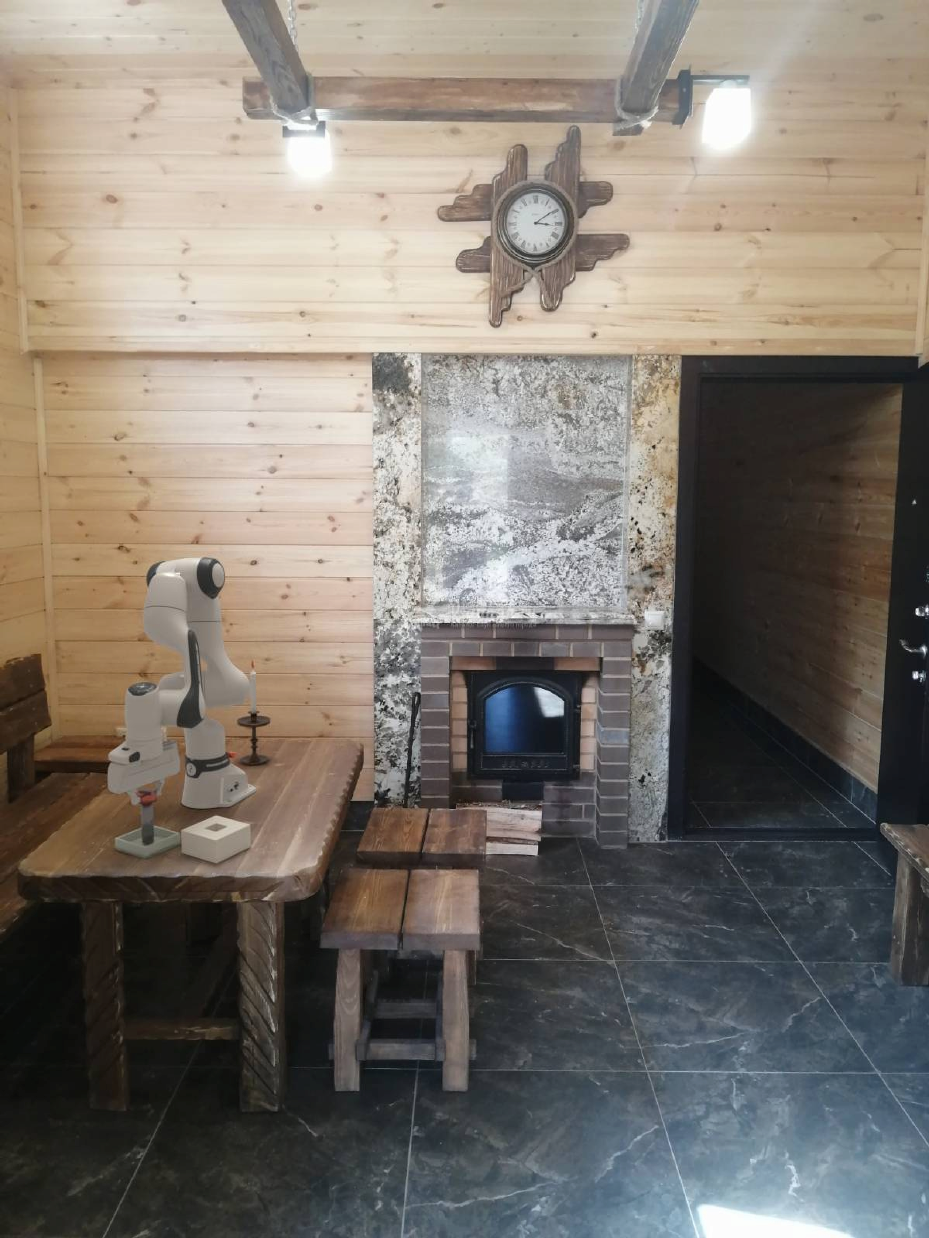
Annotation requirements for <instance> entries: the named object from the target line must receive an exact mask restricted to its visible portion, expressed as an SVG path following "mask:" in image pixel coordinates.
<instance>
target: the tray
mask: <svg viewBox="0 0 929 1238" xmlns="http://www.w3.org/2000/svg"><path fill="white" fill-rule="evenodd" d="M179 845H181V832H178V831H174V830H171V829H168V828H165V827H161V826H157V825H154V842H153V843H149V844H144V843H142V830H141V827H139V828H138V829H135V830H132V831H130V832H127V833H125V834H122V835H119V836H118V837H114V848H115V849H114V850H116V851H118V852H122V853H125V854H128V855H131V856H133V857H136V858H141V859H143V860H148V859H149V858H153V857H154V856H158V855H159V854H161V853H163V852H166V851H168V850H170V849H173V848H175V847H178V846H179Z"/></svg>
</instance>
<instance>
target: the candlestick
mask: <svg viewBox="0 0 929 1238" xmlns="http://www.w3.org/2000/svg"><path fill="white" fill-rule="evenodd" d="M250 664H251V672H250V673H249V678H250V679H249V682H250V693H249V694H250V710H249V711H248V712H247V714H250V715H246V716H242V717H239V718H238V719H237V720H236V722H237V723H236V724H237V726H239V727H242V728H243V727H244V728H250V729H251V738H249V742H250V743H251V745H250V749H251V752H252V753H251V754H250V755H245V756H243V757H241V758H240V764H241V765H244V766H250V767H251V766H253V767H255V766H262V765H265V764H267V763H268V762H269V757H268V756H267V755H262V754H258V753H257V748H258V749H259V745H257V743H258V742H259V738H258V737H257V728H259V727H260V728H261V727H266V726H268V725H270V724H271V718H270V717H269V716H266V715H258V714H259V713H260V711H259V710H257V672H256V671H255V669H254V668H255V665H254V661H253V660H251V663H250Z"/></svg>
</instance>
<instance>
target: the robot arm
mask: <svg viewBox="0 0 929 1238" xmlns="http://www.w3.org/2000/svg"><path fill="white" fill-rule="evenodd" d="M145 581H146V586H147V590H146V591H147V592H146V595H145V600H144V604H143V612H142V629H143V631H144V633H145V635H146V636H147V638H149V639H150V640H151V641H153V642H154V643H155V644H157V645H159V646H162V647H165V648H166V649H169V650H172V651H174V652H176V653H178V654H179V655H180V657H181V659H182V666H183V667H182V668H183V671H177V672H172V673H169V674H165V675H163V676H162V677H161V678H160V680H159V682H158V684H156V683H154V682H151V681H150V682H149V681H148V682H147V681H143V682H138V683H134V684H132V685H130V686H129V687H127V689H126V692H125V699H124V700H125V701H124V724H125V726H126V733H125V741H123V742H122V743H121V744H120V745H119V746H117V747H115V748H114V749H112V750H111V751H110V752H109V753H108V756H107V757H108V758H107V759H108V761H111V762H110V763H109V766H108V768H107V789H108V790H109V791H110V792H111V793H112V794H113V793H114V794H117V795H121V794H125V793H127V795H128V796H129V797H130V801H131V804H132V805H133V806H137V805H140V804H139V803H141V801H140V800H141V797H139V796H137V795H136V793H137V792H138V789H139V788H142V787H144V786H147V785H150V784H152V783H155V786H154V788H152V790H156V791H157V798H158V797H160V796H161V795H162V789H163V787H164V785H165V780H166V779H167V778H170V777H172V776H175V775H178V774H179V773H180V771H181V759H180V755H179V754H180V753H179V751H178V749H179V748H178V743H177V742H176V741H175V740H174V739H168V740H166V741H165V740H164V739H163V736H164V735H163V731H162V727H167V728H168V727H169V728H170V727H172V728H173V727H174V728H176V727H178V728H182V729H183V733H184V741H185V754H184V769H185V774H184V786H183V791H182V799H181V804H182V805H183V806H185V807H187V808H192V809H213V808H229V807H232V806H234V805H236V804H237V803H239V802H241V801H242V800H244V799H245V798H247V797H249V796H251V795H252V794H254V793H256V792H257V788H256V787H255V785H252V784H249V782H248V775H247V773H246V772H245V771H244V770H243V769H242V768H240V767H238V766H236V765H235V764H233V763H232V762H231V760H230V759H232V760H233V759H236V757H237V755H238V754H237V752H236V751H230V750H229V751H227V750H226V730H225V727H224V726H223V724H222V723H220V722H219V721H218V720H216V719H213V718H211V717H208V716H206V712H207V710H206V709H219V708H221V709H222V708H231V707H236V706H238V705H242V704H244V703H245V702H246V701H247V699H248V698H249V696H250V694H251V693H250V679H249V678H248V676H247V675H246V674H245V672H243V671H242V670H240V669H239V668H238V667H236V666H235V665H234V664H233V663H232V661H231V660H230V658H229V656H228V654H227V652H226V649H225V645H224V636H223V619H222V617H223V616H222V607H221V602H220V597H219V594H220V592H221V591H222V589H223V587H224V585H225V582H226V574H225V569H224V566H223V564H222V563H221V562H220V561H219V559H217V558H214V557H207V556H204V557H184V558H181V559H173V560H172V559H171V560H167V561H165V560H163V561H159V562H155V563H153V564H152V565H151V566H150V568H149V569H148V571H147V573H146V579H145ZM201 661H202V662H203V663H205V665H206V669H204V670H202V666H201ZM163 740H164V741H163Z"/></svg>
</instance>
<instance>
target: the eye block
mask: <svg viewBox="0 0 929 1238" xmlns="http://www.w3.org/2000/svg"><path fill="white" fill-rule="evenodd" d="M180 844H181V853H182V854H185V855H187V856H190V857H191V856H192V857H195V858H197V859H201V860H204V861H207V862H211V863H213V864H216V865H217V864H219V863H220V862H223V861H225V860H228V859H229V858H230V857H233V856H235V855H237V854H240V853H241V852H243V851H245V850H247V849H249V848H251V846H252V845H251V824H249V823H246V822H241V821H239V820H234V819H231V818H227V817H223V816H220V815H214V816H212V817H209V818H207V819H205V820H202V821H199V822H197V823H195V824H193V825H190V826H188V827H185V828H184V829H181V830H180Z"/></svg>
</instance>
